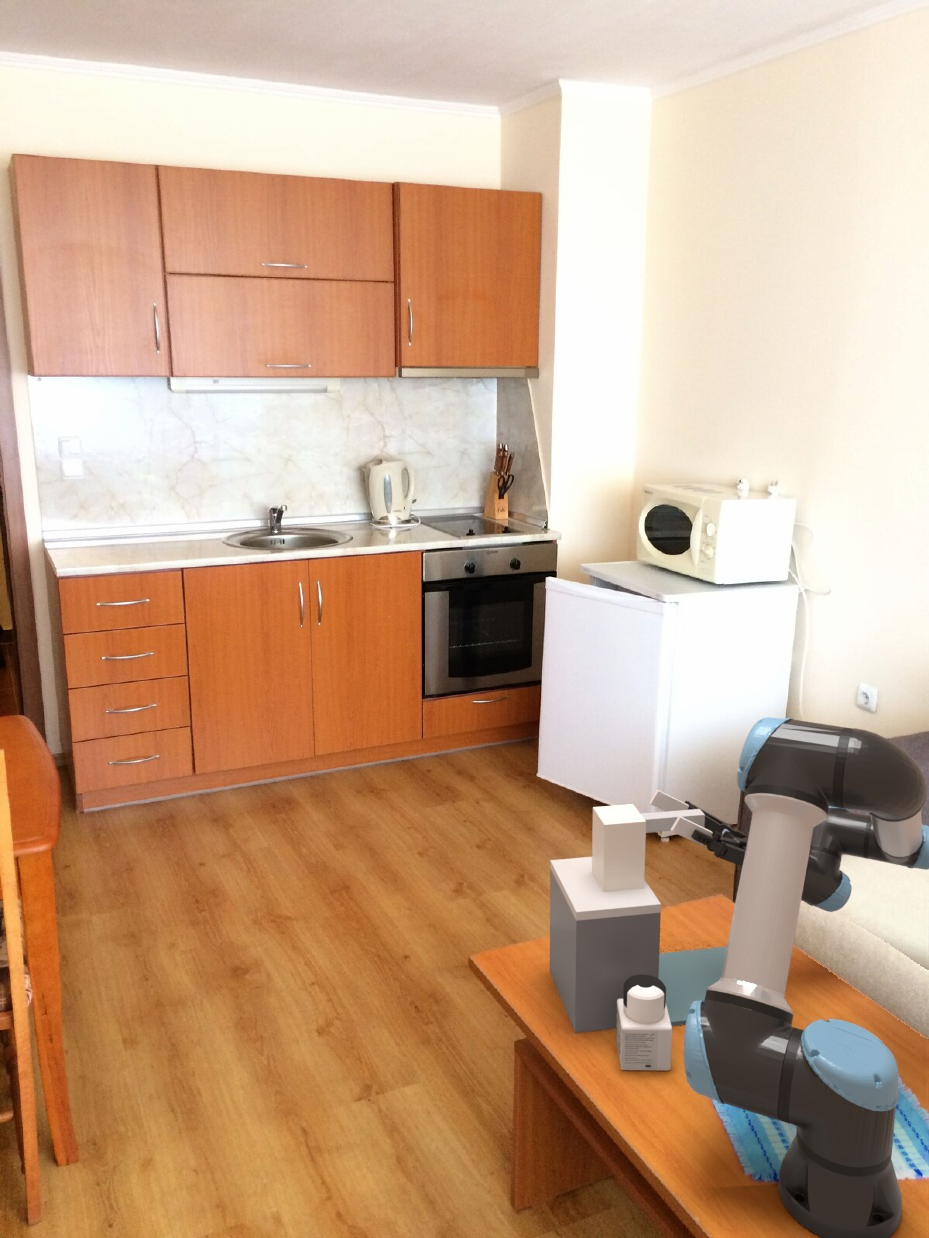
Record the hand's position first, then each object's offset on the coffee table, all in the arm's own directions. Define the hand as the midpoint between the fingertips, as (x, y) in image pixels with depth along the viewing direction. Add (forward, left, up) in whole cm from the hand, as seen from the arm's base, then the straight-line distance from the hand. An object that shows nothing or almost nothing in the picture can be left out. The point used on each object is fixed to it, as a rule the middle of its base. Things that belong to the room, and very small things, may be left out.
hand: (664, 809), depth 173 cm
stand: (-5, +9, -34) cm, 36 cm away
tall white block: (-1, +2, -12) cm, 12 cm away
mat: (+4, -7, -34) cm, 35 cm away
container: (-18, -1, -34) cm, 39 cm away
